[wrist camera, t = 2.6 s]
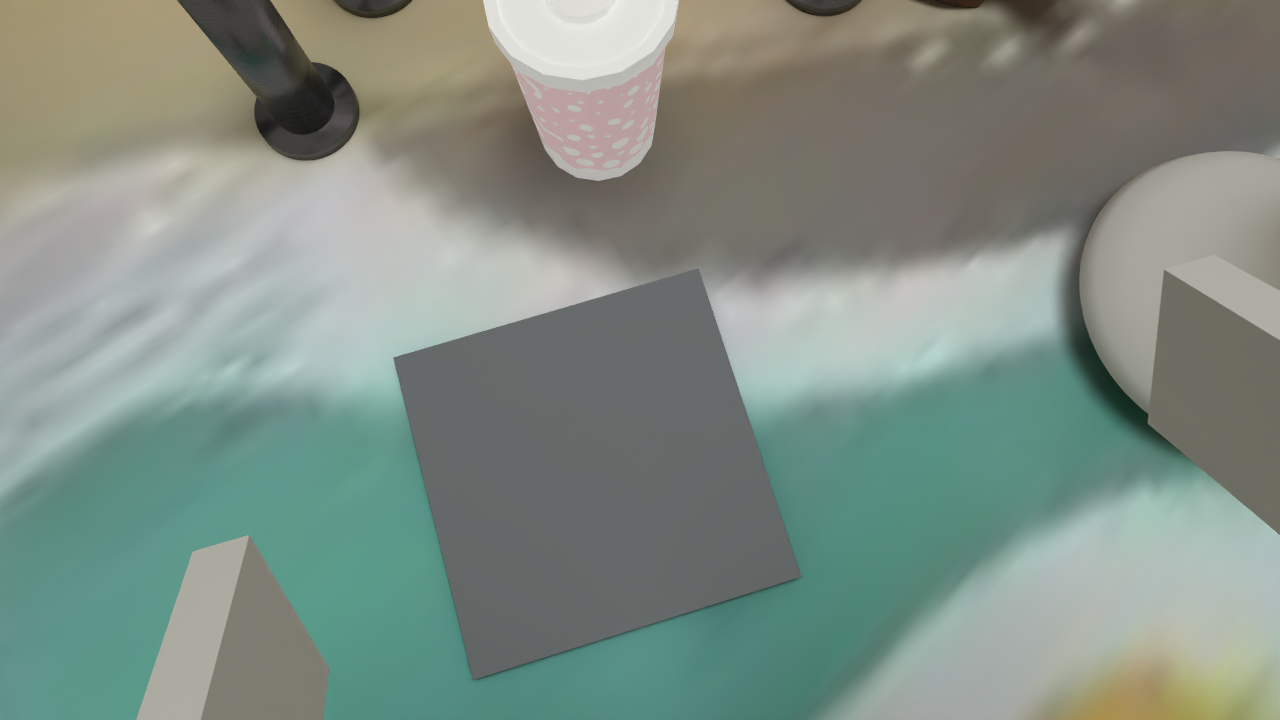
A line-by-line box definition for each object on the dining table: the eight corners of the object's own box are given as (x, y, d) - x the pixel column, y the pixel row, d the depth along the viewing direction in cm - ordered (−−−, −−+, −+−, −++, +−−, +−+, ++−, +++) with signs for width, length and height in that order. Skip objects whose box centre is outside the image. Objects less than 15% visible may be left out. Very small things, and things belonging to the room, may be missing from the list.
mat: (475, 678, 32) (473, 679, 32) (396, 360, 35) (393, 357, 34) (799, 576, 33) (801, 576, 32) (697, 271, 35) (698, 268, 35)
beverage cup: (521, 61, 38) (448, -228, 24) (670, 57, 38) (682, -237, 24) (521, 201, 36) (443, -23, 23) (676, 196, 36) (691, -32, 23)
